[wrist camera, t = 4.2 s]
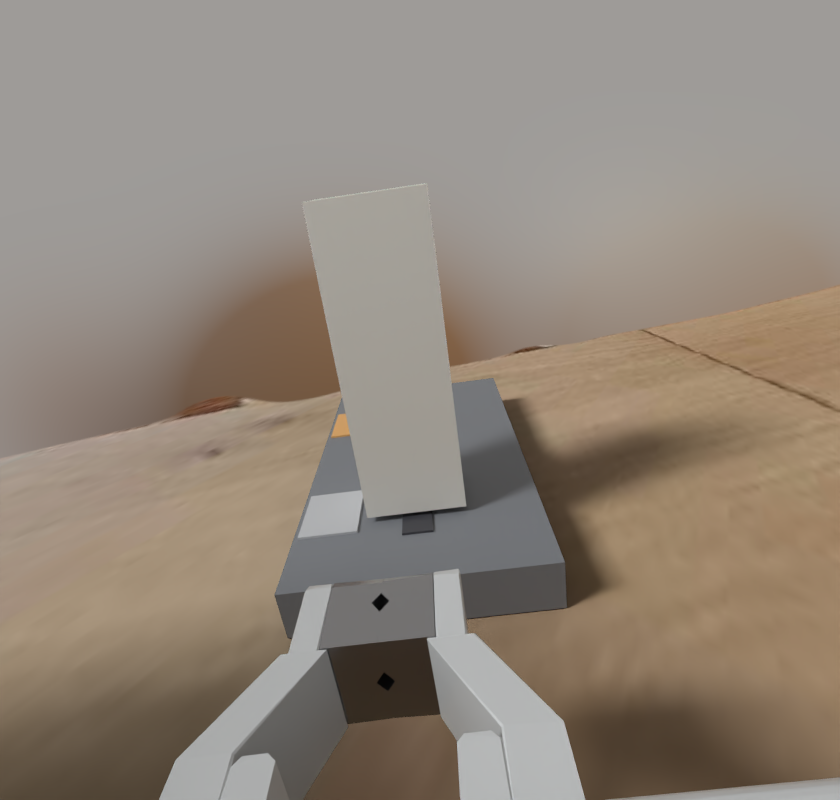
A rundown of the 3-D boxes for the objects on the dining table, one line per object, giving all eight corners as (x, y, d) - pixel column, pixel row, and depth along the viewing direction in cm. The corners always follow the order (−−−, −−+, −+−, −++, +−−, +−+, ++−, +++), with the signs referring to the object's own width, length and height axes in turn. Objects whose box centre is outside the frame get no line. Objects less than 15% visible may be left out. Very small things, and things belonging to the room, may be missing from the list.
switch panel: (566, 607, 19) (564, 559, 18) (287, 638, 19) (273, 592, 18) (495, 406, 35) (493, 376, 34) (347, 424, 36) (341, 396, 35)
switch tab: (466, 506, 21) (427, 183, 17) (367, 518, 21) (301, 202, 17) (460, 468, 24) (425, 183, 19) (373, 479, 24) (317, 199, 20)
